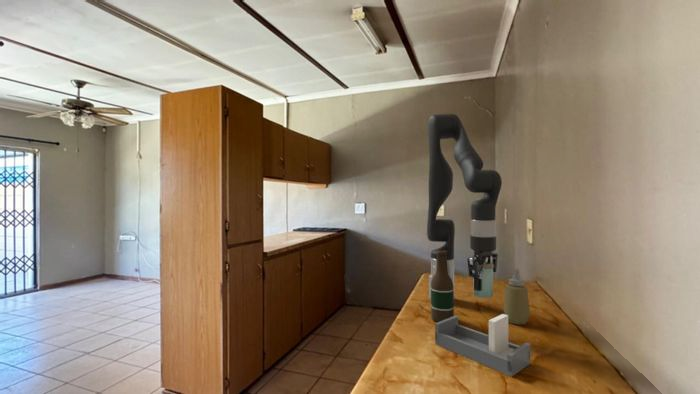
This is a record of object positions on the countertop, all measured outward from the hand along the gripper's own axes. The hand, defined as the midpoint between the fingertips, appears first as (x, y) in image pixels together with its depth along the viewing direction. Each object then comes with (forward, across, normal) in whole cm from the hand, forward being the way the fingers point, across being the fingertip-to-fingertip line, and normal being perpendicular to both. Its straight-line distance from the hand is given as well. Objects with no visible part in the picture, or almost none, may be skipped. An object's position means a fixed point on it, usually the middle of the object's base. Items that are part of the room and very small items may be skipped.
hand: (483, 288), depth 101 cm
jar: (+2, 0, 0) cm, 2 cm away
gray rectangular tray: (+14, -13, -6) cm, 20 cm away
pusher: (+13, -13, -13) cm, 22 cm away
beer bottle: (+15, 0, +15) cm, 21 cm away
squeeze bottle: (+15, +18, -2) cm, 23 cm away
